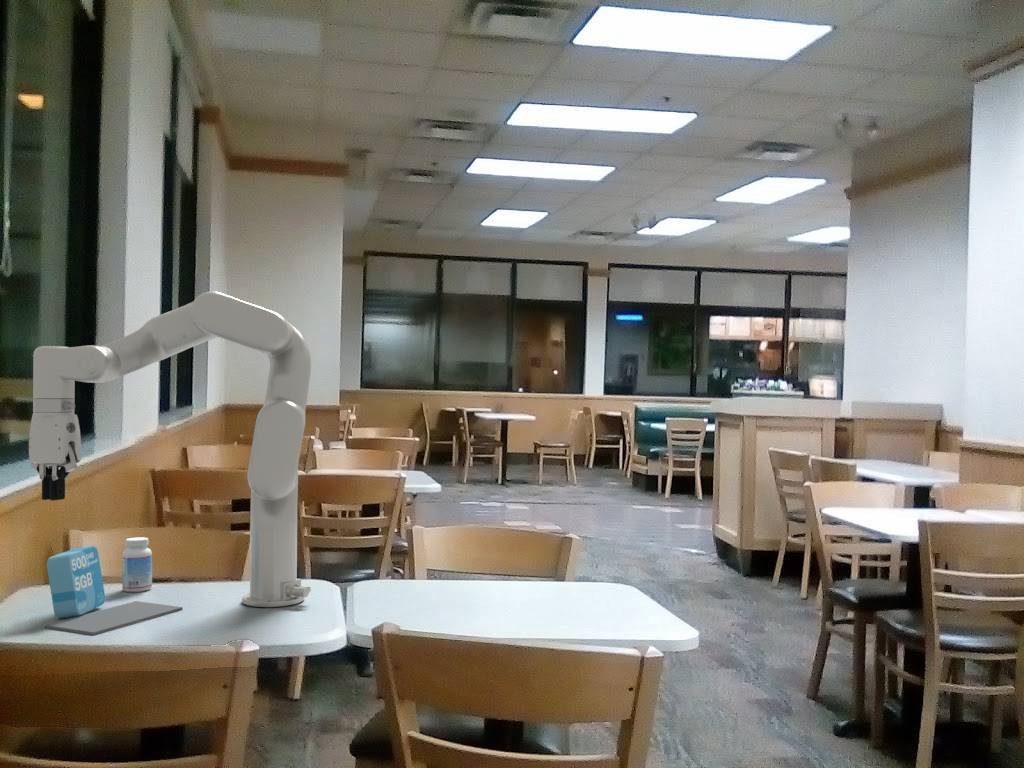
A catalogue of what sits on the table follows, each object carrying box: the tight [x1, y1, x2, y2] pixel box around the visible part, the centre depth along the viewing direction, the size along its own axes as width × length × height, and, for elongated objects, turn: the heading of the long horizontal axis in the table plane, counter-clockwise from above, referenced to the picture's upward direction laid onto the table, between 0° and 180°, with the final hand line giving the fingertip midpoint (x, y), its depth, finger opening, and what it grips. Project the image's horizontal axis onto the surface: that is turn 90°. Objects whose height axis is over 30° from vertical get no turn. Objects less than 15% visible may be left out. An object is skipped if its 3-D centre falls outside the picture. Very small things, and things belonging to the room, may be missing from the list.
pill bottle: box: [121, 536, 153, 593], centre depth 213 cm, size 6×6×11 cm
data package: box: [46, 545, 106, 619], centre depth 191 cm, size 12×4×12 cm, turn 178°
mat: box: [44, 600, 183, 636], centre depth 187 cm, size 12×22×1 cm, turn 155°
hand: (53, 498), depth 194 cm, fingers closed
